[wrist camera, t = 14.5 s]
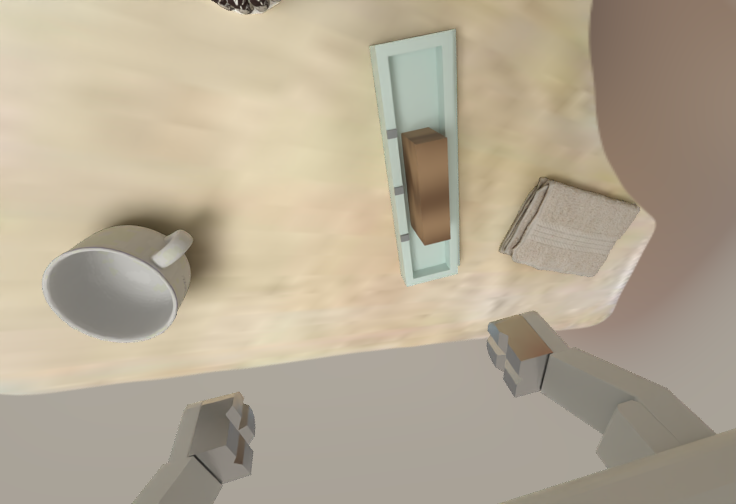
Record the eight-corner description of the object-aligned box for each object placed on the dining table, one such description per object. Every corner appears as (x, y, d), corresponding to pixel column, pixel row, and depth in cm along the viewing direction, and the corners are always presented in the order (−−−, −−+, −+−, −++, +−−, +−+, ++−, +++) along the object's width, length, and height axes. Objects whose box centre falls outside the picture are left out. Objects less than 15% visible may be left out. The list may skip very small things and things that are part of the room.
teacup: (140, 307, 40) (109, 359, 33) (60, 239, 34) (3, 285, 27) (241, 259, 39) (229, 302, 32) (177, 180, 33) (147, 213, 26)
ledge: (369, 46, 30) (375, 45, 28) (451, 29, 31) (464, 27, 28) (401, 275, 45) (407, 288, 42) (456, 261, 45) (465, 273, 43)
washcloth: (533, 172, 41) (549, 180, 38) (633, 200, 46) (653, 208, 44) (491, 252, 46) (503, 264, 44) (585, 269, 52) (600, 280, 49)
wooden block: (400, 133, 34) (415, 144, 30) (429, 126, 34) (448, 137, 30) (410, 225, 40) (424, 245, 36) (435, 219, 40) (451, 239, 36)
